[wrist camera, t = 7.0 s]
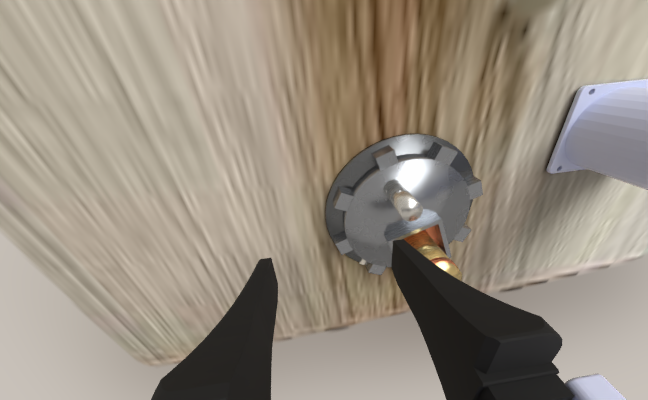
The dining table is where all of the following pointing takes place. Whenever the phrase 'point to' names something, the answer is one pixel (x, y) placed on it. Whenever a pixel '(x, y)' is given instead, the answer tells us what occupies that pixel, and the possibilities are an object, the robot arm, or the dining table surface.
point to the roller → (433, 253)
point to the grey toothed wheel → (404, 204)
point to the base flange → (366, 162)
